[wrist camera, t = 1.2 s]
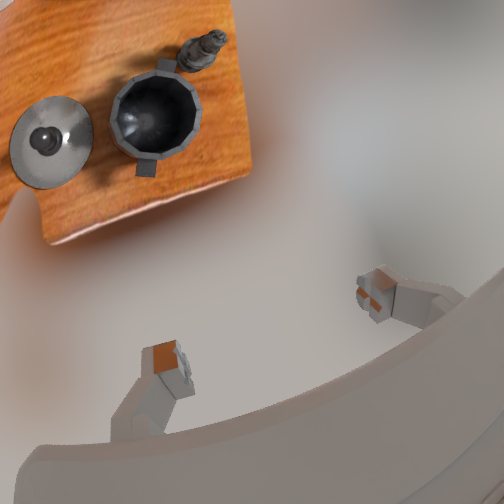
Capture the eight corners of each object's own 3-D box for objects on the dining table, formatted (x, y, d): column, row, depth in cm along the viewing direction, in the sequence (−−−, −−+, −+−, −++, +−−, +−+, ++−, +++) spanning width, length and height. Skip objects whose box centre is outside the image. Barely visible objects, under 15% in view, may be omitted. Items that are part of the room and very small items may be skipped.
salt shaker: (190, 80, 38) (222, 60, 28) (167, 57, 34) (192, 29, 24) (214, 60, 38) (251, 38, 28) (192, 38, 34) (224, 9, 25)
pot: (101, 171, 36) (101, 175, 29) (121, 67, 31) (127, 49, 25) (174, 176, 42) (190, 181, 36) (192, 78, 37) (212, 65, 31)
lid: (7, 189, 28) (-12, 197, 21) (20, 98, 24) (4, 85, 17) (87, 188, 35) (84, 196, 28) (101, 98, 32) (102, 84, 25)
